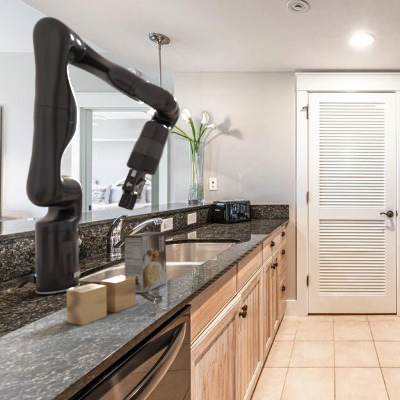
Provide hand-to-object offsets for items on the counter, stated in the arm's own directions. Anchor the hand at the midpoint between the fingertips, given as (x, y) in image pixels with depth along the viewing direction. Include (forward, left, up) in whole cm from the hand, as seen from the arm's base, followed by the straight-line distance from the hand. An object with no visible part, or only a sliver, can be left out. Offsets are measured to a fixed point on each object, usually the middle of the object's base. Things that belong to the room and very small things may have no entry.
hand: (125, 208), depth 81 cm
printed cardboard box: (+2, +5, -24) cm, 24 cm away
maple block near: (+9, -16, -24) cm, 30 cm away
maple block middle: (+9, -9, -24) cm, 27 cm away
